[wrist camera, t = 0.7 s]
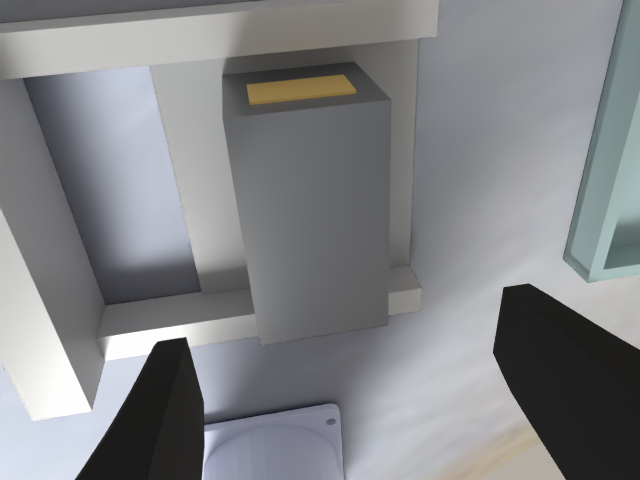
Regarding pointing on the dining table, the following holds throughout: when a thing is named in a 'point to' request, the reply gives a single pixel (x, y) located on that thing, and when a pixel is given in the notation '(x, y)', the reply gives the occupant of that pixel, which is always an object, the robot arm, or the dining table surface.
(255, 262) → the grey rectangular block
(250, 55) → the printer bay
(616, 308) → the dining table surface
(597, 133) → the tray
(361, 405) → the dining table surface
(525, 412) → the robot arm
